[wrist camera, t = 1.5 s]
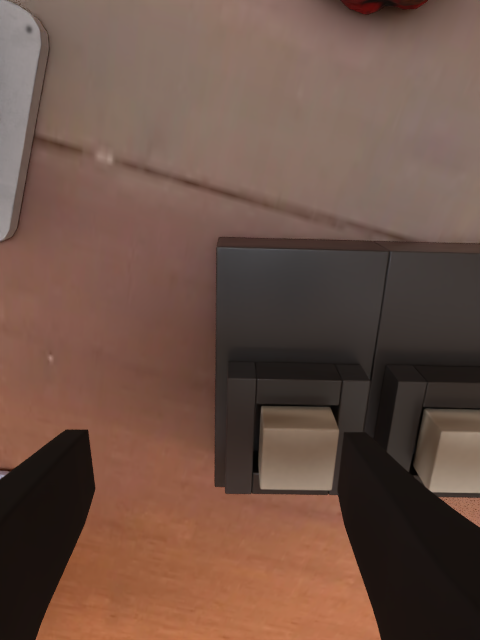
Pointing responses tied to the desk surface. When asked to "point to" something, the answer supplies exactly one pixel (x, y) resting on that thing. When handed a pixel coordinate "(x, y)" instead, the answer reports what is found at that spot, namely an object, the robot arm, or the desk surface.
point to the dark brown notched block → (424, 343)
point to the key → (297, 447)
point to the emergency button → (18, 104)
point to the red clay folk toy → (381, 4)
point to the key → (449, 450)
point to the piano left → (291, 341)
